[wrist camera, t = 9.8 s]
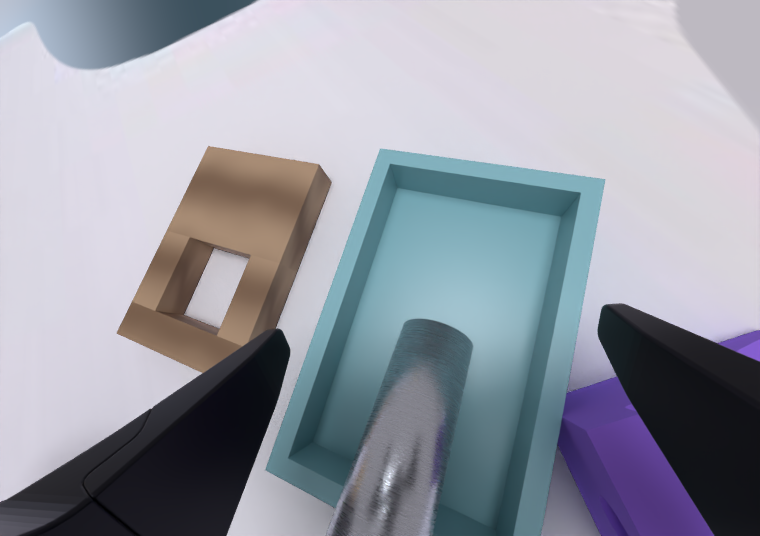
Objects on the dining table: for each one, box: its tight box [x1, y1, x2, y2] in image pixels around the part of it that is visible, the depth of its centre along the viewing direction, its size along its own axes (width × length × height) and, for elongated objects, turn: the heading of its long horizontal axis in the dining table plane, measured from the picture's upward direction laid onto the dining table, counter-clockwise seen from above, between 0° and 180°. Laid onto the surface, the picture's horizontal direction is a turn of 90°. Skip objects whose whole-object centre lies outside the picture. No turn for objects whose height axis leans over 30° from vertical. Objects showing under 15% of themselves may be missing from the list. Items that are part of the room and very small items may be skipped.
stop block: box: [117, 146, 331, 373], centre depth 23 cm, size 16×11×2 cm, turn 161°
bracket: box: [557, 330, 760, 536], centre depth 13 cm, size 12×7×7 cm, turn 109°
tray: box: [265, 149, 605, 536], centre depth 18 cm, size 20×13×4 cm, turn 161°
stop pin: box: [326, 318, 473, 536], centre depth 13 cm, size 5×5×13 cm
